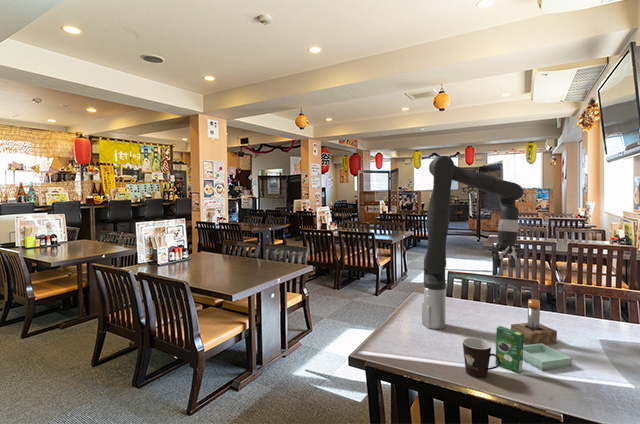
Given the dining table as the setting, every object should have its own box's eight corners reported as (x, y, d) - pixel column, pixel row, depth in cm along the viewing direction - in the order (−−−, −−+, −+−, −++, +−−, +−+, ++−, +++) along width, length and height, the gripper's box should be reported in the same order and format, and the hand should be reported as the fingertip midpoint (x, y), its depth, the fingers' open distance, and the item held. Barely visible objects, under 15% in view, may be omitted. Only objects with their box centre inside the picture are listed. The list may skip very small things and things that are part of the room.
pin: (533, 342, 134) (533, 302, 133) (524, 338, 138) (525, 299, 137) (541, 341, 134) (542, 301, 134) (533, 337, 138) (534, 298, 138)
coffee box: (524, 371, 112) (524, 332, 111) (519, 374, 110) (520, 334, 109) (499, 362, 118) (499, 325, 118) (495, 364, 117) (495, 327, 116)
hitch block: (530, 346, 130) (530, 334, 130) (510, 336, 140) (511, 324, 139) (556, 343, 132) (556, 331, 132) (535, 333, 142) (535, 321, 142)
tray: (541, 370, 112) (541, 362, 112) (513, 354, 124) (514, 346, 124) (571, 366, 114) (571, 358, 114) (541, 351, 126) (541, 343, 126)
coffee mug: (457, 367, 115) (457, 338, 114) (481, 366, 116) (481, 337, 115) (475, 386, 103) (476, 354, 103) (502, 384, 104) (503, 352, 104)
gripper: (511, 230, 152) (508, 266, 152) (488, 228, 147) (485, 265, 147) (527, 231, 146) (524, 269, 146) (503, 230, 140) (500, 269, 140)
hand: (504, 267), depth 146 cm, fingers open, 8 cm apart
